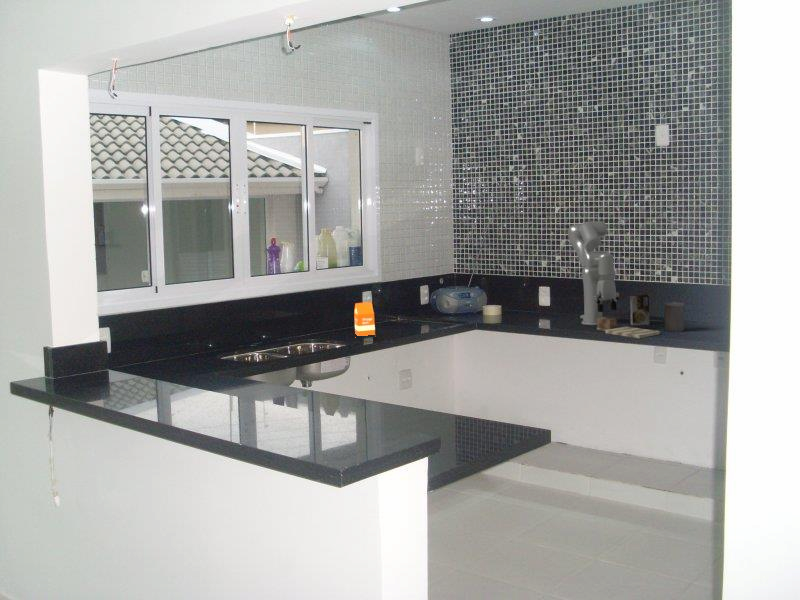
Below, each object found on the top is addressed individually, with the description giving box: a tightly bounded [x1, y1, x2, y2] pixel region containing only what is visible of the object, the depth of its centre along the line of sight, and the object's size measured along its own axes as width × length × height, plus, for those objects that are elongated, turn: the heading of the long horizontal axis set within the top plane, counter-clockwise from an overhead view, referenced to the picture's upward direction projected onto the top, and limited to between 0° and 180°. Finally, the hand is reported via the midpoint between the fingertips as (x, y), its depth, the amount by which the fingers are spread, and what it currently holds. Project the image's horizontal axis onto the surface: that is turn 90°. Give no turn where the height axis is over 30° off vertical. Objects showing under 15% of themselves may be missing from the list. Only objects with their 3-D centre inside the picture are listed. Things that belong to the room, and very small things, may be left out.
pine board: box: [604, 326, 661, 339], centre depth 437 cm, size 22×15×2 cm
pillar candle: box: [663, 301, 685, 333], centre depth 440 cm, size 10×10×15 cm
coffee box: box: [629, 292, 650, 326], centre depth 462 cm, size 9×6×16 cm
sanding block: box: [596, 316, 618, 332], centre depth 451 cm, size 9×5×6 cm, turn 33°
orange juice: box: [353, 301, 376, 336], centre depth 451 cm, size 8×9×20 cm
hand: (607, 310), depth 449 cm, fingers open, 9 cm apart
